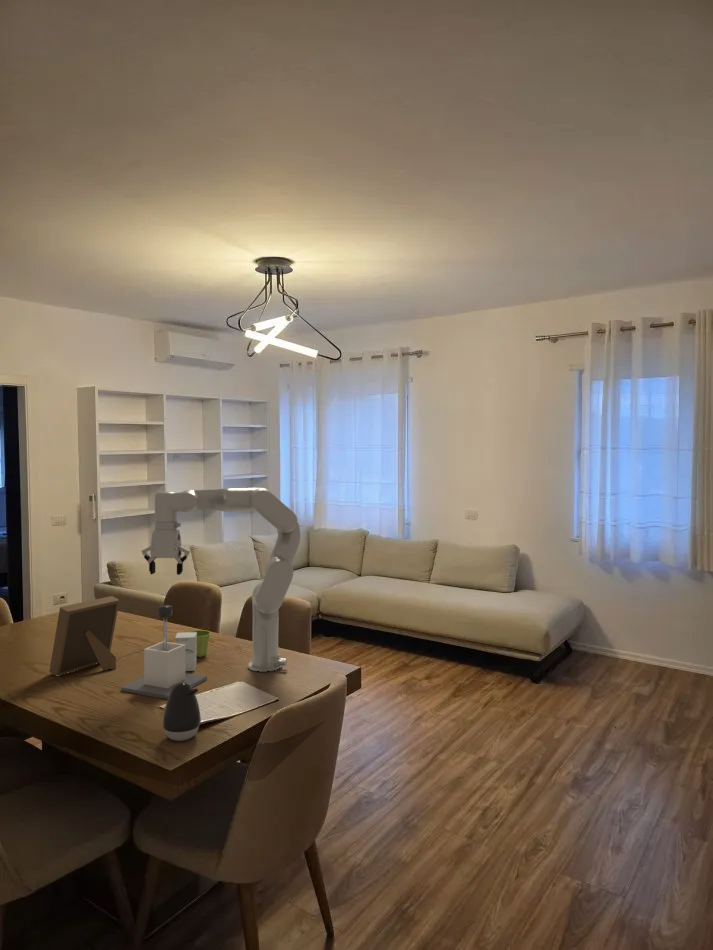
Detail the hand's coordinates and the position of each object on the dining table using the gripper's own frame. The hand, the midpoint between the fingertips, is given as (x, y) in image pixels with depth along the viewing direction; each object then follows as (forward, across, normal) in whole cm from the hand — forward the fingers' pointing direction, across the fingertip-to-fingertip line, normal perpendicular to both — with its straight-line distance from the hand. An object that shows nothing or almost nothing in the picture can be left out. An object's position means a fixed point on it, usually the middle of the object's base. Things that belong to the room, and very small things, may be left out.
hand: (166, 573), depth 225 cm
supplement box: (+36, -5, -6) cm, 37 cm away
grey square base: (+36, -4, +11) cm, 38 cm away
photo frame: (+36, +29, -1) cm, 46 cm away
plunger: (+27, -4, +11) cm, 29 cm away
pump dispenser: (+36, -23, +50) cm, 66 cm away
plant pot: (+36, -5, -22) cm, 43 cm away
